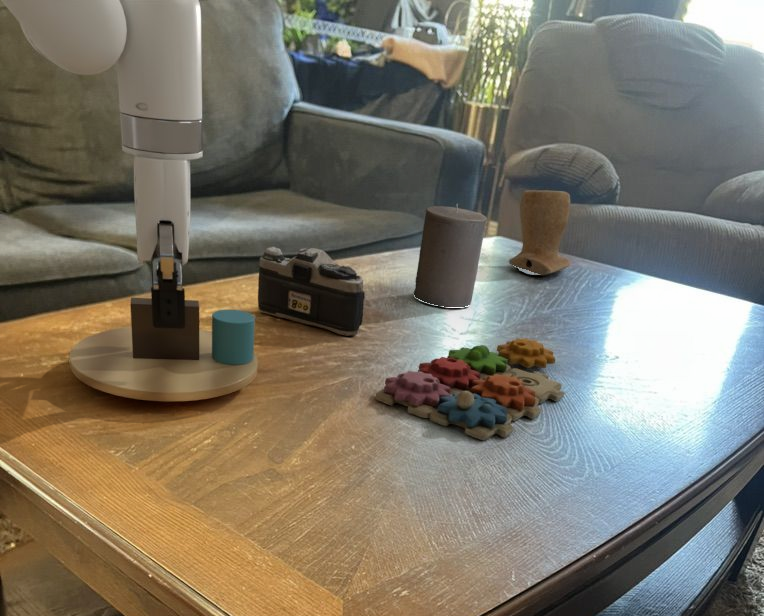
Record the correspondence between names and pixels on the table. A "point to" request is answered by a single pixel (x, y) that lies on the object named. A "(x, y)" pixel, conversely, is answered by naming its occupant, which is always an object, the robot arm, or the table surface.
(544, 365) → the gear puzzle
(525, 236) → the brown flared block
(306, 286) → the camera
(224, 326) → the teal cylinder block
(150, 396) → the tray
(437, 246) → the pillar candle
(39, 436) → the table surface
